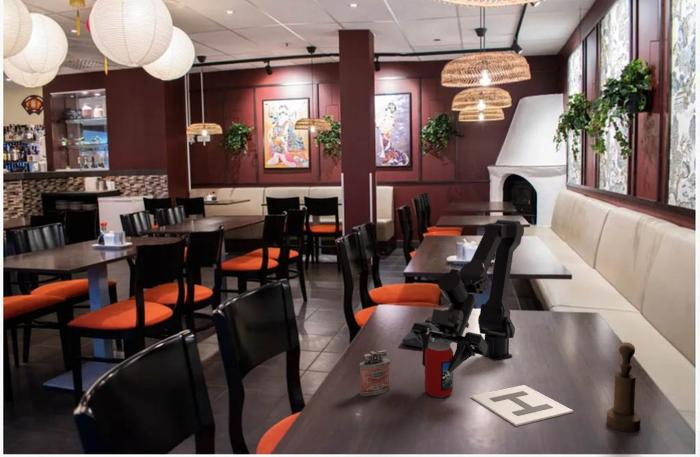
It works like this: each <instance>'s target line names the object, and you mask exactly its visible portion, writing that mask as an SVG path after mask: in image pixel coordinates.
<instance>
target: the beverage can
mask: <svg viewBox="0 0 700 457" xmlns="http://www.w3.org/2000/svg"><path fill="white" fill-rule="evenodd" d="M453 356H454V351H453V349H452V346H451V344H448V343H444V342H432V343H429V344H428V347H427V349H426V350H425V366H424V390H425V393H427V394H428V395H429V396H431V397H435V398H445V397H448V396H449V395H451V394H452V393H453V391H454V390H453V389H454V371H452V372H451V373H449V371H448V369H449V365H450V363H451V361H452V358H453Z"/></svg>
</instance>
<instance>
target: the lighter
mask: <svg viewBox="0 0 700 457" xmlns="http://www.w3.org/2000/svg"><path fill="white" fill-rule="evenodd" d="M387 356H388V351H387V350H386V349H384V350H379V351H377V352H375V351H373V350H372V351H369V353H366V354H363V359H364V361H362V362H360V363H359V368H360V378H359V379H360V388H359V395H360V396H363V397H368V396H375V395H380V394H383V393H386V392H390V390H391V386H390V364H391V360H390V359H389V358H385V357H387Z"/></svg>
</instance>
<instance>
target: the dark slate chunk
mask: <svg viewBox="0 0 700 457" xmlns="http://www.w3.org/2000/svg"><path fill="white" fill-rule="evenodd" d="M431 317H432V316H429V317H428V318H426V319H425V320H424V322H422V323H425V324H429V326H430V327H431V329H432V330H435V331H439V329H438V328H436V326H435V325H436V323H434V322H431ZM401 342H402V343H403V345H405V346H409V347H413V348H414V347H415V348H419V349H422V350H423V342H420V341H419V340H418V339H417V338H416V337H415V335H414V334H413V333H412V331H411V330H410V331H409V332H408V333H407V334H406V335H405V337H403V338H402V340H401ZM433 342H444V343H448V344H450V345H451V344H452V343H453V342H449V341H444V340H439V339H435V338H434V341H433Z"/></svg>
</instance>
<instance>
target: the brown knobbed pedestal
mask: <svg viewBox="0 0 700 457" xmlns="http://www.w3.org/2000/svg"><path fill="white" fill-rule="evenodd" d="M618 351H619V354H620V355H621V357H622V361H621V362H619V366H620V370H621V371H617V372H615V373H614V394H613V396H614V397H613V407H611V408H610V409H608V410H607V412H606V424H607V425H608V426H609V427H610V428H612V429H614V430H617V431H619V432H625V433H632V432H638V431H640V429H641V418H642V417H641V415H639V414H638V413H637V412H636V410H635V401H636V400H635V399H636V397H635V396H636V381H637V377H636V376H637V375H636V374H634V373H632V372H631V371H632V367H633V364H632V363H631V359H632V357H633V356H634V354H636V348H635V346H634V344H632V343H631V342H626V341H625V342H622V343H620V345H619V347H618Z"/></svg>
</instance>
